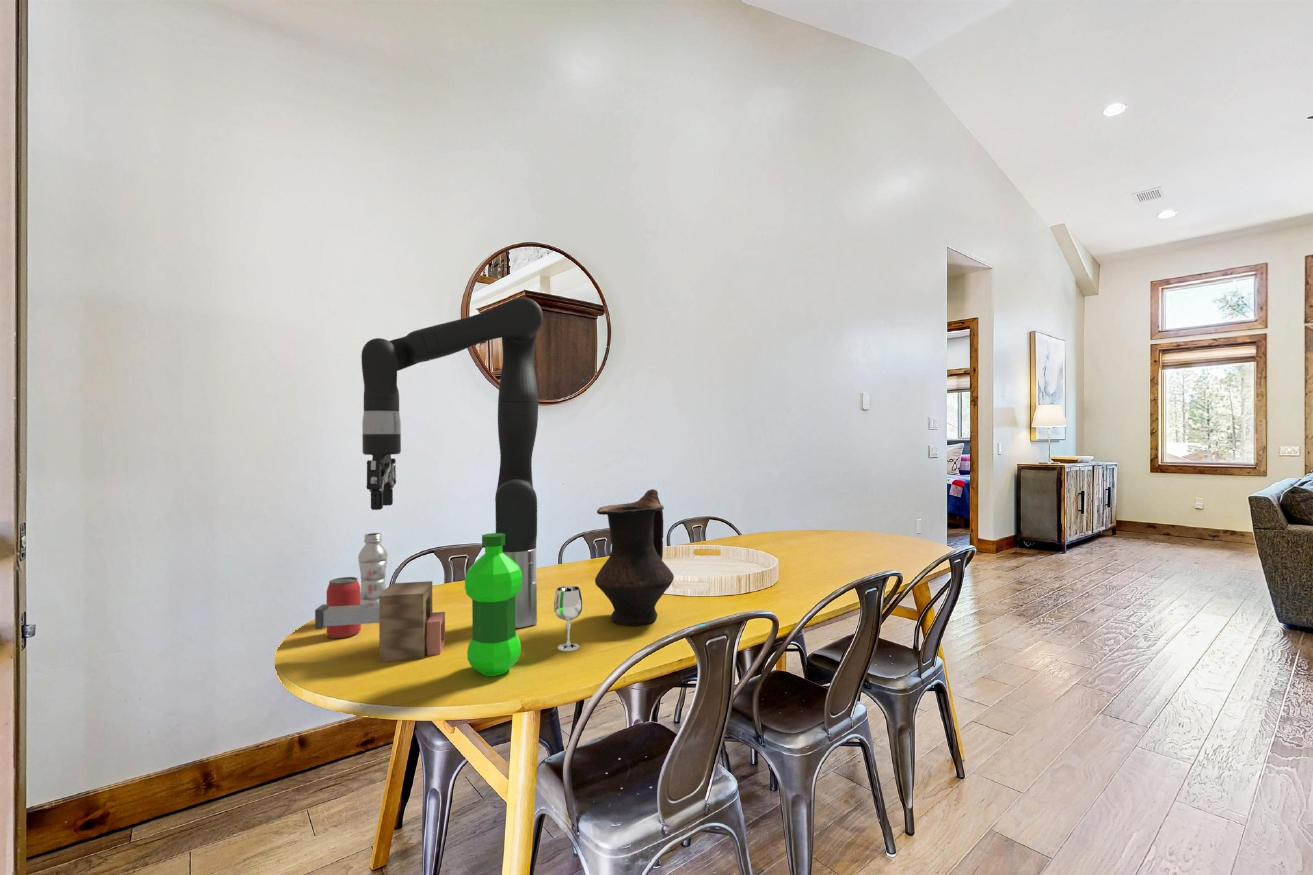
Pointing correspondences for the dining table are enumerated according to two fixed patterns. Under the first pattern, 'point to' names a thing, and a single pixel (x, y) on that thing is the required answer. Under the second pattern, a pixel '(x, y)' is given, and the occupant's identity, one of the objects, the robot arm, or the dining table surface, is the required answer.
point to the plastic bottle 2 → (493, 608)
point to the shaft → (346, 615)
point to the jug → (635, 560)
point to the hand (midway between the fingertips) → (382, 507)
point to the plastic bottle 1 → (372, 569)
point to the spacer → (436, 633)
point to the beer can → (343, 603)
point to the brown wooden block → (404, 620)
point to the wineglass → (568, 610)
